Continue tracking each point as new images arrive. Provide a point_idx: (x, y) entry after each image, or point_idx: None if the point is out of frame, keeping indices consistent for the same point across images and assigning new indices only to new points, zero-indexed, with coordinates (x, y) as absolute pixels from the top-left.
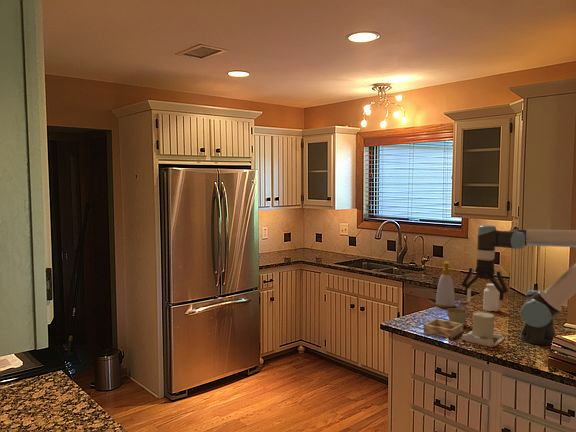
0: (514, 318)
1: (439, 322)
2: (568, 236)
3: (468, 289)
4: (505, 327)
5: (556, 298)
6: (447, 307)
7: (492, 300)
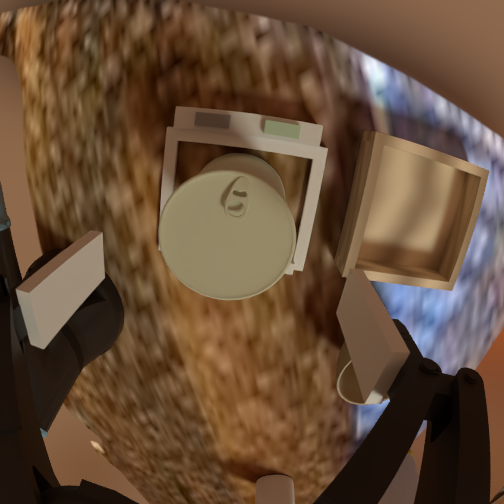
0: (203, 455)
1: (434, 275)
2: None
3: (395, 344)
4: (198, 385)
5: None
6: None
7: (268, 500)
